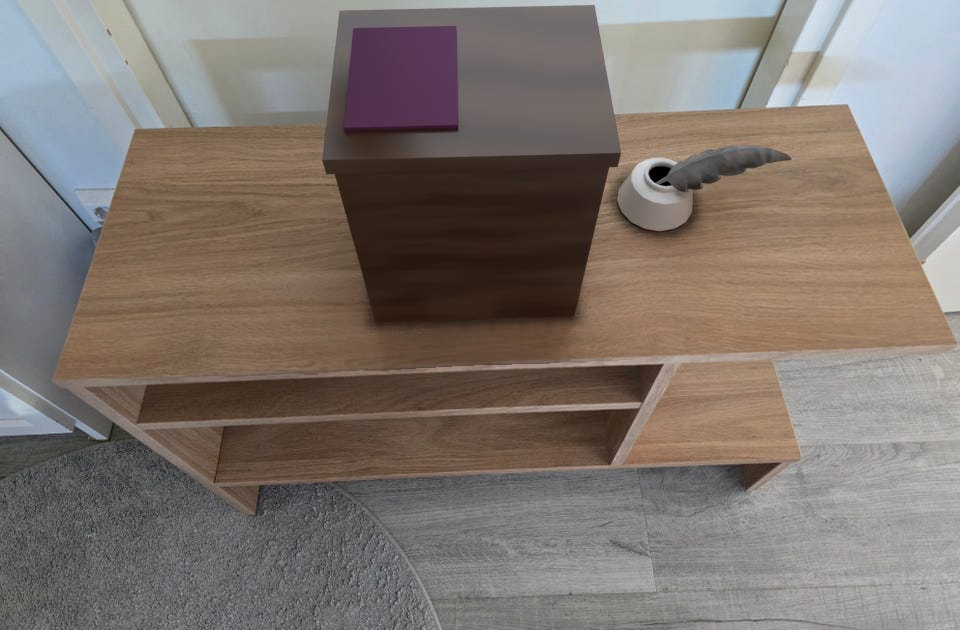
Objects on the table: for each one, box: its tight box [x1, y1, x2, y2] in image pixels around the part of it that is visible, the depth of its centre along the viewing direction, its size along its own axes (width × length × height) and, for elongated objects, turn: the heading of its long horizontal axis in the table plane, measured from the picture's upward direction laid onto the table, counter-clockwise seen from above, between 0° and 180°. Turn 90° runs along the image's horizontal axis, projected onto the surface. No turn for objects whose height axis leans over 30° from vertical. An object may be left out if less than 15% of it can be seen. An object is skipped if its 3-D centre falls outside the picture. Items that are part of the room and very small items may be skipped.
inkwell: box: [616, 144, 793, 232], centre depth 79 cm, size 9×18×10 cm, turn 90°
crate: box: [321, 4, 622, 323], centre depth 68 cm, size 18×23×26 cm
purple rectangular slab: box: [343, 26, 458, 131], centre depth 56 cm, size 12×9×1 cm
